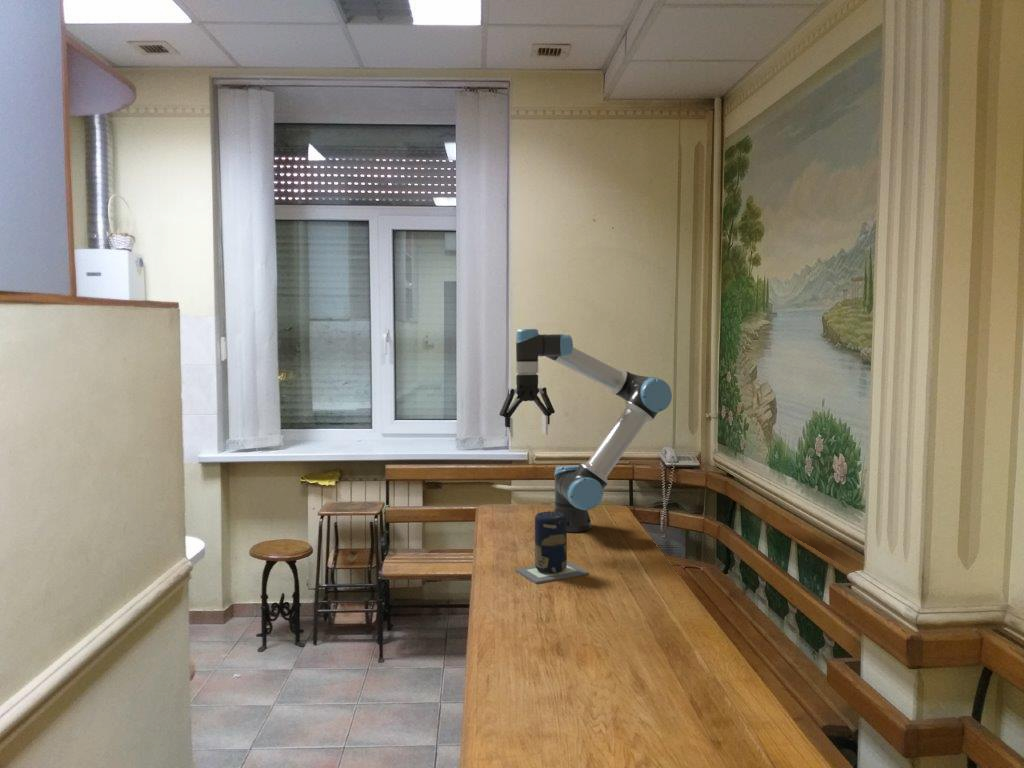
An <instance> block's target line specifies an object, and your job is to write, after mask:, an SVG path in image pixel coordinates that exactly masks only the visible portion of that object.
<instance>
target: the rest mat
mask: <svg viewBox="0 0 1024 768" xmlns="http://www.w3.org/2000/svg"><path fill="white" fill-rule="evenodd" d="M514 570H515V572H516V573H517V574H519V573H520V574H519V575H521V576H522V577H524V578H526V579H527V580H529V581H531V582H532V583H534V584H535V585H536V584H543V583H548V582H554V581H559V580H565V579H569V578H570V579H571V578H575V577H576V578H577V577H581V576H587V575H590V572H589V571H587V570H585V569H583V568H582V567H580V566H578V565H576V564H574V563H572V562H570V561H569V560H567V566H566V569H565V570H563V571H560V572H556V573H546V572H541V571H539V570H538V569H537V568H536V566H535V565H532V566H526V567H519V568H515V569H514Z"/></svg>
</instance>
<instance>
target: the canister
mask: <svg viewBox="0 0 1024 768" xmlns="http://www.w3.org/2000/svg"><path fill="white" fill-rule="evenodd" d="M553 511H554V510H553ZM553 511H551V510H548V511H541V512H538V513H536V514H535V517H534V558H535V559H534V560H535V562H534V564H535V565H534V566H536V568H537V569H538V570H539V571H541V572H546V573H556V572H560V571H563V570H565V569H566V566H567V561H568V560H567V559H568V558H567V557H568V545H567V543H568V540H567V537H568V536H567V533H568V532H566V516H565V515H564V514H563V513H560V512H553Z"/></svg>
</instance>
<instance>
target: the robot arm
mask: <svg viewBox="0 0 1024 768" xmlns="http://www.w3.org/2000/svg"><path fill="white" fill-rule="evenodd" d="M515 337H516V338H515V344H516V345H515V351H516V352H515V353H516V355H515V357H516V362H515V363H516V369H515V371H516V373H517V375H516V377H515V379H516V380H515V381H516V388H515V389H514V388H508V389H507V395H506V397H505V400H504V402H503V405H502V407H501V410H500V411H499V416H501V417H503V418H504V427H505V428H506V434H507V436H506V437H508V438H514V437H513V436H514V431H513V428H514V425H513V424H514V422H513V421H514V419H513V417H512V415H513V414H514V413H515V411H516V410H517V408H518V407H519V406H520V404H521V403H522V402H529V401H530V402H534V403H535V404H536V406H537V407H538V408H539V409H540V411H541V412H542V413H543V414H542V415H541V434H542V435H548V434H549V429H548V428H549V425H550V420H551V419H550V416H552V414H555V412H556V410H555V409H554V406H553V405H552V402H551V399H550V397H549V396H548V392H547V391H548V390H547V387H545V386H541V387H539V374H538V373H539V357H546V358H548V359H550V360H551V361H554V362H556V363H558V364H560V365H562V366H565V367H566V368H568V369H570V370H572V371H574V372H576V373H578V374H580V375H581V376H583V377H586V378H588V379H589V380H592V381H594V382H596V383H598V384H600V385H602V386H604V387H606V388H608V389H610V390H611V391H612V393H613V394H614V395H616V396H618V397H620V398H621V399H623V400H624V402H625V409H624V410H623V412H622V413H621V414H620V415H619V417H618V419H617V420H616V421H615V423H614V424H613V426H612V427H611V428H610V429H609V431H608V433H607V434H606V435H605V437H604V438H603V440H602V441H601V442H600V443H599V445H598V447H597V448H596V449H595V451H594V452H593V453H592V455H591V456H590V458H589V459H588V460H587V462H582V463H579V465H560V466H556V467H555V469H554V474H553V476H554V508H553V512H560V513H563V514H564V515H565V516H566V533H577V532H578V533H580V532H581V533H582V532H586V531H589V530H591V528H592V520H591V517H590V513H589V512H588V511H589V510H593V509H594V508H597V506H598V505H600V503H601V502H602V499H603V497H604V490H605V488H606V487H607V485H608V484H609V483H608V476H609V474H610V473H611V472H612V471H613V469H614V468H615V466H616V465H617V463H618V462H619V460H620V459H621V457H623V455H624V454H625V452H626V451H627V449H628V448H629V446H630V445H631V443H632V442H633V441H634V439H635V438H636V437H637V435H638V434H639V432H640V431H641V430H642V428H643V427H644V426H645V424H646V423H647V422H652V421H653V420H654V419H655V417H656V416H657V415H658V414H659V413H660V412H663V411H665V410H666V409H668V408H669V406H670V405H671V402H672V396H673V394H672V389H671V387H670V385H669V384H668V383H667V382H666V381H665V380H663V379H662V378H659V377H656V376H655V377H654V376H644V375H639V374H638V375H637V374H634V373H631V372H629V371H627V370H626V369H625V370H619V369H617V368H615V367H614V366H611V365H610V364H607V363H605V362H603V361H601V360H599V359H597V358H596V357H593V356H592V355H589V354H587V353H586V352H583V351H582V350H579V349H578V348H576V347H574V342H573V338H572V336H571V335H570V334H563V333H561V334H560V333H558V334H556V333H555V334H546V333H545V334H539V329H538V328H519V329H517V330H516V336H515ZM538 394H540V396H541V398H542V401H541V398H540V397H539V396H538ZM515 395H517V396H516V397H515ZM514 397H515V399H514ZM513 399H514V401H513ZM512 401H513V402H512Z"/></svg>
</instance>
